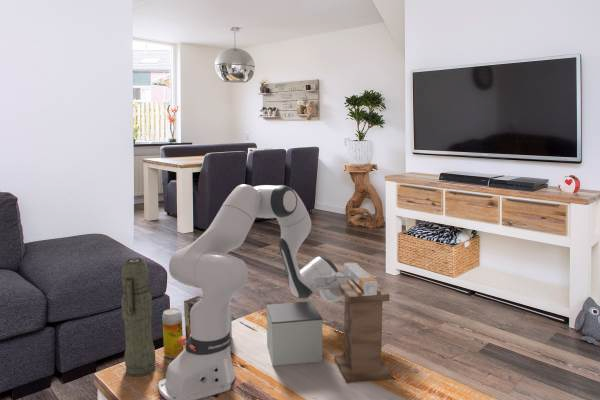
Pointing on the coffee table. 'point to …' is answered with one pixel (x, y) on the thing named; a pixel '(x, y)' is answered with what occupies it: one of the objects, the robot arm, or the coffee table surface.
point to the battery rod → (360, 279)
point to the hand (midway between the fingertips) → (348, 276)
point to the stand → (362, 335)
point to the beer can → (172, 332)
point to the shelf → (294, 333)
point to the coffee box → (187, 307)
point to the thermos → (137, 318)
